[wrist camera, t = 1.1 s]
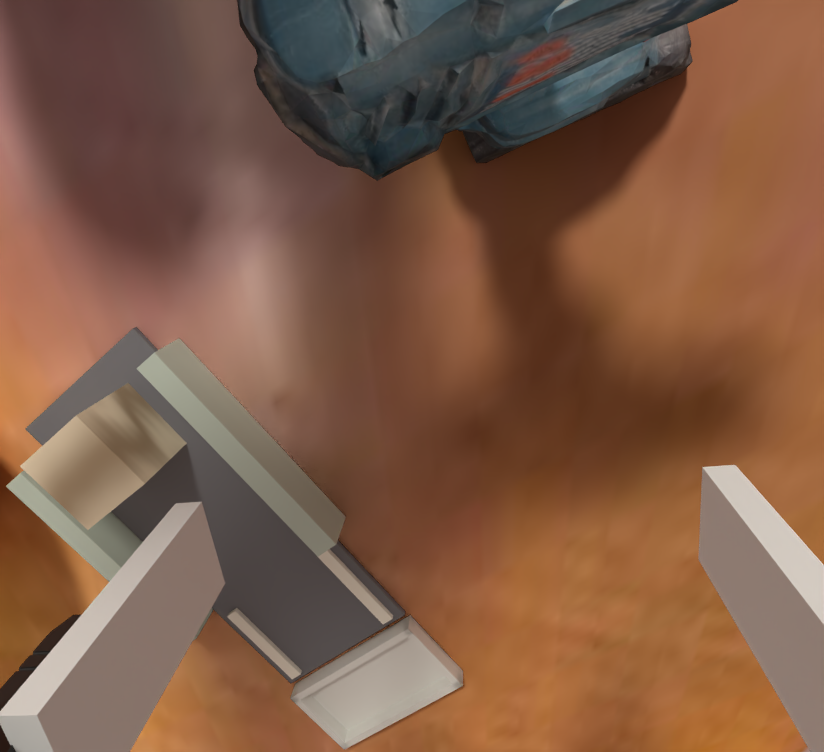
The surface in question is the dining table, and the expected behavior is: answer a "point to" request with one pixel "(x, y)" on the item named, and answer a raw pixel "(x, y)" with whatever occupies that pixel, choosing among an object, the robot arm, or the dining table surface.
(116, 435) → the block
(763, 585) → the robot arm
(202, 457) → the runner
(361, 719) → the tray
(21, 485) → the channel
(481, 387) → the dining table surface
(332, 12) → the power drill
